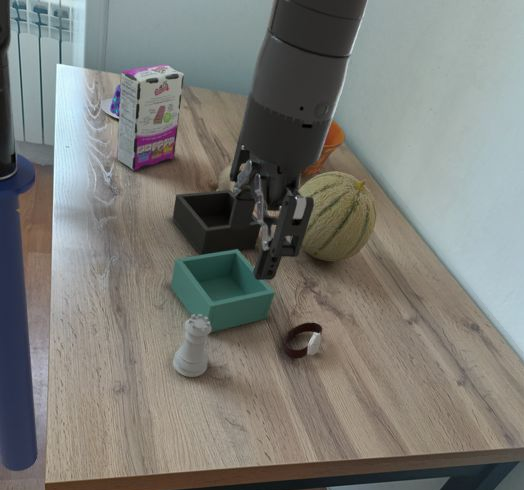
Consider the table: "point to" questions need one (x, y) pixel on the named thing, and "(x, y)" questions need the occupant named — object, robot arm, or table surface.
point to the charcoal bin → (212, 222)
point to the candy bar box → (148, 115)
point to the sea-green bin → (221, 289)
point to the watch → (313, 342)
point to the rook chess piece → (193, 348)
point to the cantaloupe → (338, 216)
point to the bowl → (327, 148)
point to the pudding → (112, 104)
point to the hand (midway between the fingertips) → (250, 252)
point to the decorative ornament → (225, 179)
